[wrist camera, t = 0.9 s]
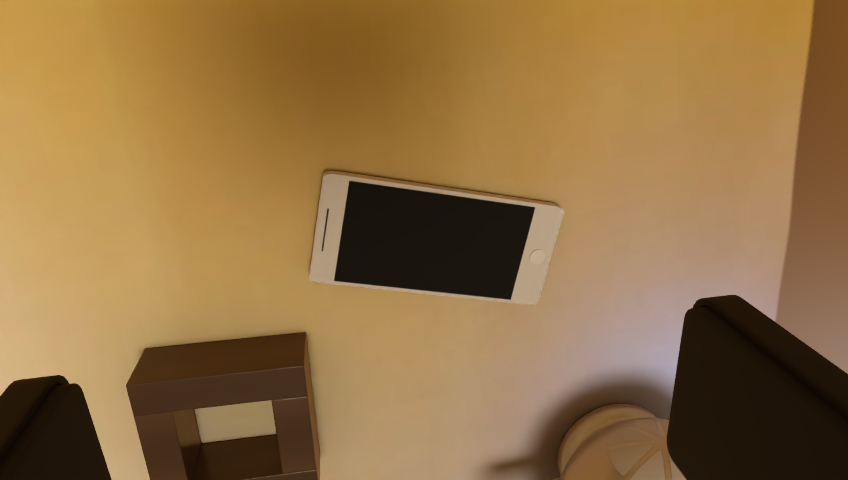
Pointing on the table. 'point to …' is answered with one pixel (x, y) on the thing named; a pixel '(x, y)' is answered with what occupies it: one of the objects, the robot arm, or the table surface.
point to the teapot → (617, 446)
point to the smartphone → (432, 239)
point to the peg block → (225, 385)
